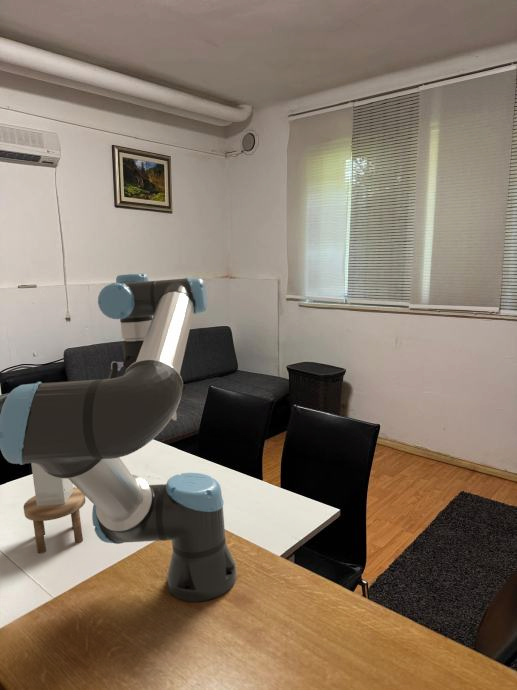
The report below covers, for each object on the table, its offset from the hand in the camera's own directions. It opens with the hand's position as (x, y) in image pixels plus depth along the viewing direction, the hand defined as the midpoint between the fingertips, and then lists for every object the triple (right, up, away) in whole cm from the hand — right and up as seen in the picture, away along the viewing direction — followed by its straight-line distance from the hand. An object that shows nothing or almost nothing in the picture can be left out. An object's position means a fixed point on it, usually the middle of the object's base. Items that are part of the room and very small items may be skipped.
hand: (147, 424), depth 118 cm
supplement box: (-26, -22, +9) cm, 35 cm away
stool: (-26, -32, +10) cm, 43 cm away
